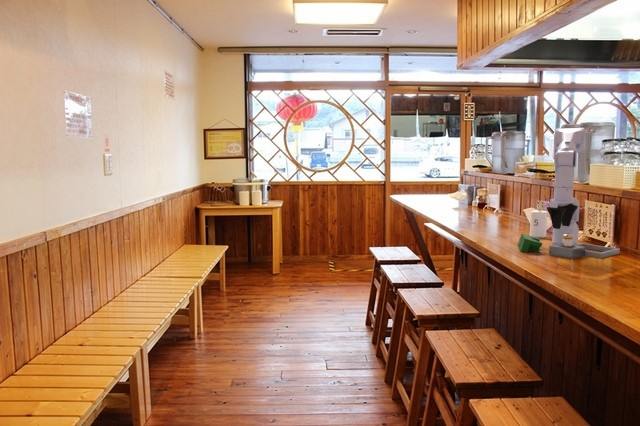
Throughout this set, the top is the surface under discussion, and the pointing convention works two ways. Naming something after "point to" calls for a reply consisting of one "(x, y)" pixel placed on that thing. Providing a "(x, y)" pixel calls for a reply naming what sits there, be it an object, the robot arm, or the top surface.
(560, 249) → the block
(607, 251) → the tray
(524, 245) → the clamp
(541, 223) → the candle
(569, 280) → the top surface
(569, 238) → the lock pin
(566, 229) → the robot arm
